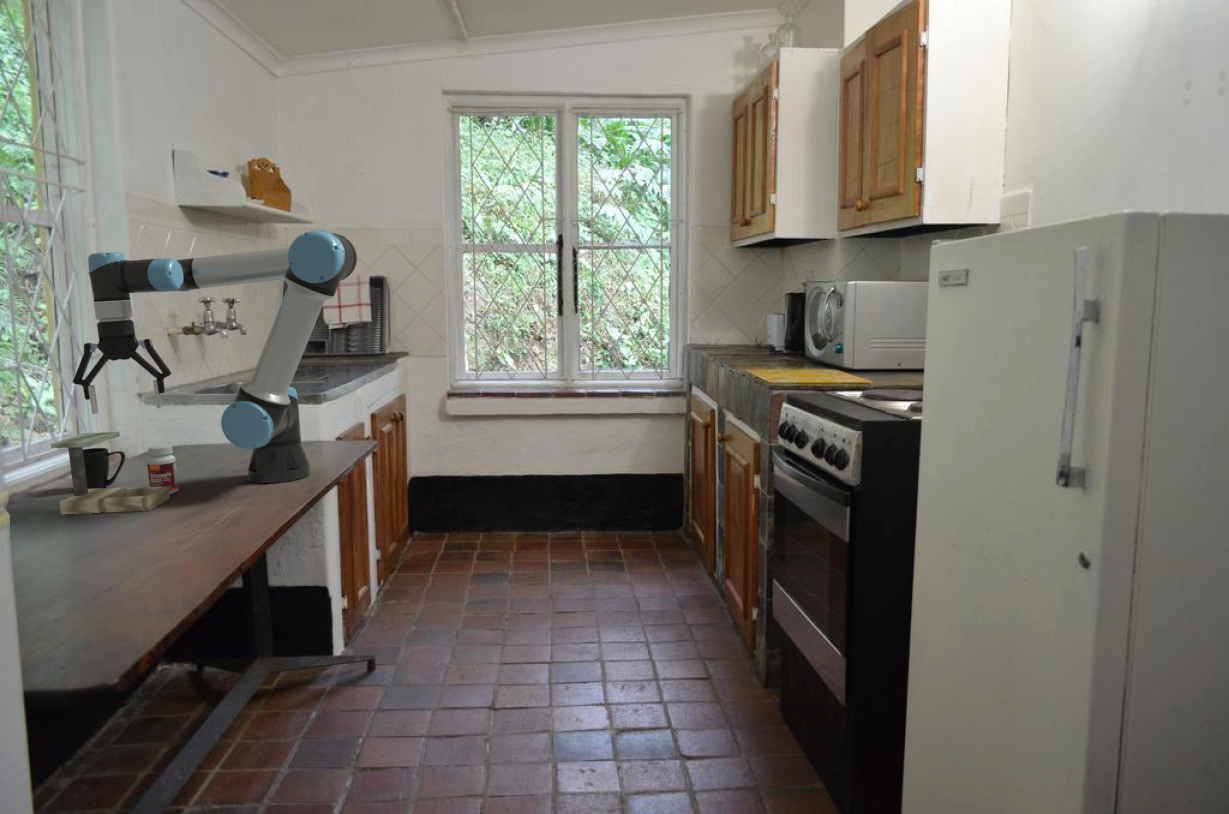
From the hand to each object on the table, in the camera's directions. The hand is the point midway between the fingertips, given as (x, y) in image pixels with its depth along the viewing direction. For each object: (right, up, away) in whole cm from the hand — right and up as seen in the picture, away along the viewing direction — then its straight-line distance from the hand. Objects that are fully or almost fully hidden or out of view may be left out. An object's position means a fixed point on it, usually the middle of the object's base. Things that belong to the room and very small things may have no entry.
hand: (127, 410), depth 208 cm
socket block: (+3, -22, -9) cm, 24 cm away
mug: (-12, -20, +11) cm, 25 cm away
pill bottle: (+7, -20, +3) cm, 21 cm away
